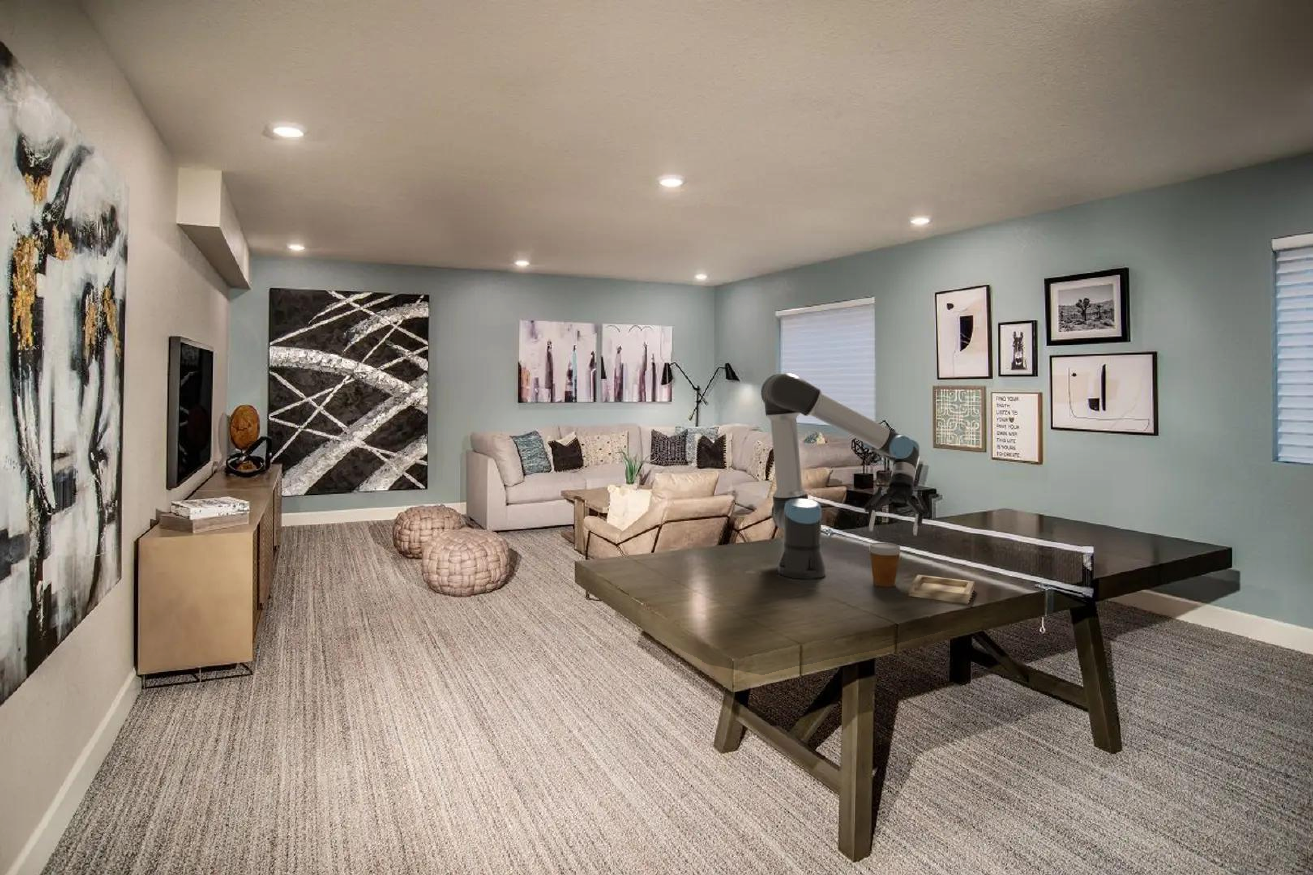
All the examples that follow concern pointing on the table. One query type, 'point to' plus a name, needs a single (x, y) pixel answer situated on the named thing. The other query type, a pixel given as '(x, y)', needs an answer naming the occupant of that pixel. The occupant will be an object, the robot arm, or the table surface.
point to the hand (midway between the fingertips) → (892, 530)
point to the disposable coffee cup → (884, 563)
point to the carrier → (942, 589)
